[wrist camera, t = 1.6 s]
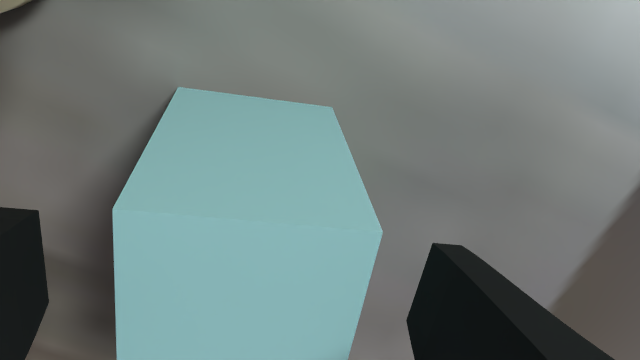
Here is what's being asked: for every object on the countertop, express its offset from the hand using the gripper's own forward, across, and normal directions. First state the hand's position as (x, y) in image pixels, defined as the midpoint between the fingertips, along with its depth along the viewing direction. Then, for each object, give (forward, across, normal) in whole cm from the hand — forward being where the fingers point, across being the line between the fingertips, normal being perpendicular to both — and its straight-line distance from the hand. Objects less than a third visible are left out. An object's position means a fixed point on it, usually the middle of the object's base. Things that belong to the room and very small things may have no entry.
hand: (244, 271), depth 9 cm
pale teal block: (+5, 0, 0) cm, 5 cm away
